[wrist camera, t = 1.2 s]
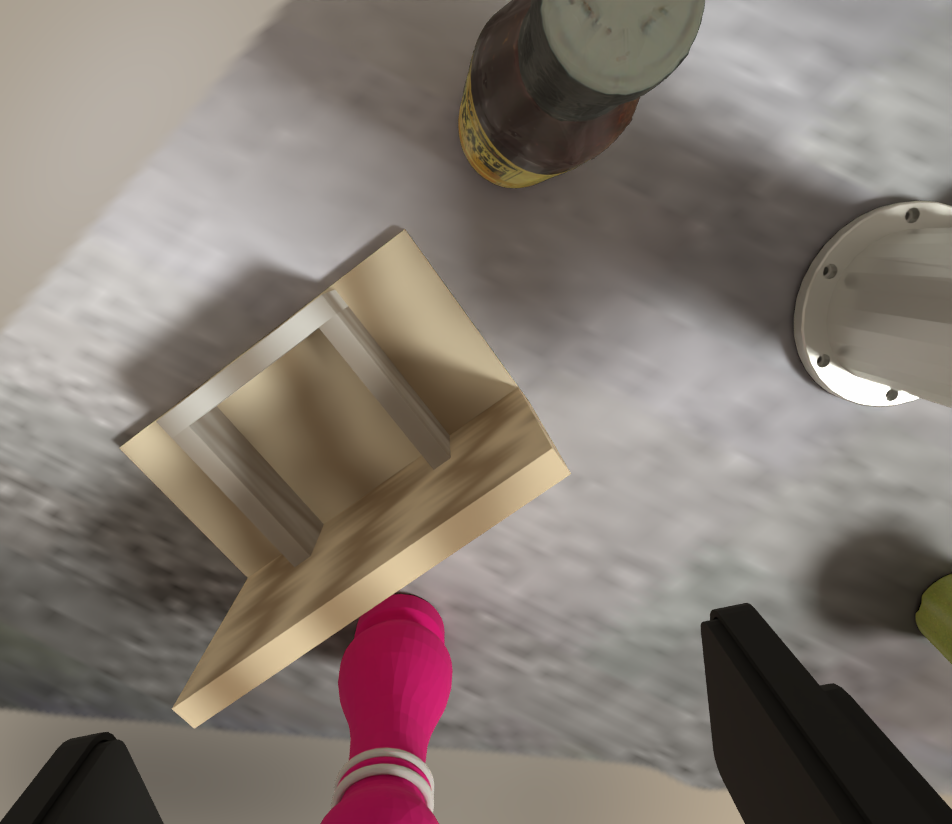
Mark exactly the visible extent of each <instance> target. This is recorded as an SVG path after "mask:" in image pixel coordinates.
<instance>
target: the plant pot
mask: <svg viewBox="0 0 952 824" xmlns="http://www.w3.org/2000/svg"><path fill="white" fill-rule="evenodd" d="M916 623H917V626H918V628H919V630H920V631H921V633H922V634H923V635H924V636H925V637H926V638H927V639H928V640H929V641H930V642H931V643H932V644H933V645H934V646H935V647H936V648H937V649H938V650H939V651H940V652H941V653H942V654H943V656H944V657H945V658H946V659H947V660H948V661H949V662H950V663H951V664H952V574H950V575H947V576H945V577H943V578H941V579H939V580H938V581H936V582H935V583H933V584H932V585H931V586H930V587H929V588H928V589H927V590H926V591H925V592H924V594H923V595H922V602H921V606H920V609H919V610H918V612H916Z"/></svg>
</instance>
